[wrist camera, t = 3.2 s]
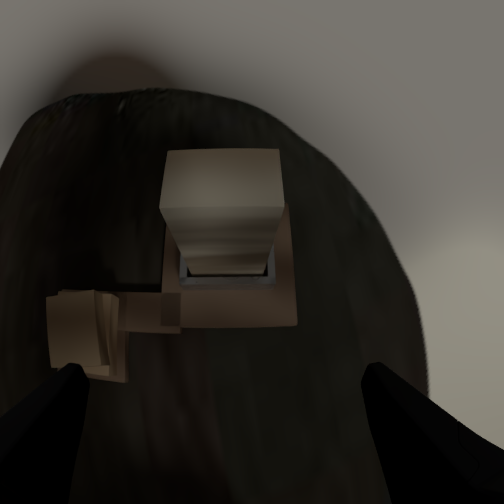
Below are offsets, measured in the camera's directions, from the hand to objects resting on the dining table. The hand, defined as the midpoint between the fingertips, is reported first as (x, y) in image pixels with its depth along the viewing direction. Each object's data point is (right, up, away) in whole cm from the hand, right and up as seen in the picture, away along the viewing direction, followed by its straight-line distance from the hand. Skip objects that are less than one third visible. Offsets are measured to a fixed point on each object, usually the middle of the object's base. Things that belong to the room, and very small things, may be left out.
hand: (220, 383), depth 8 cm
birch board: (-1, +3, +14) cm, 15 cm away
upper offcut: (-12, -2, +10) cm, 16 cm away
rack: (-6, +1, +14) cm, 15 cm away
